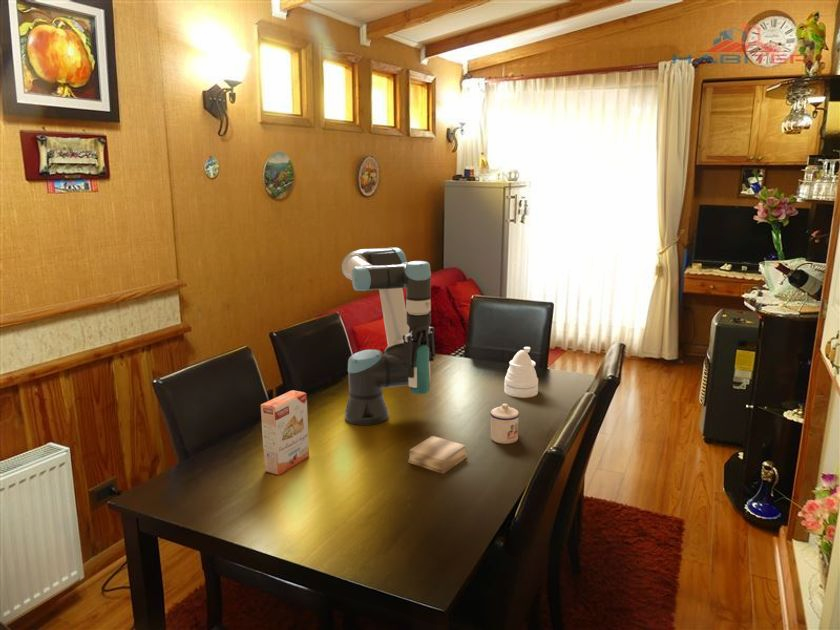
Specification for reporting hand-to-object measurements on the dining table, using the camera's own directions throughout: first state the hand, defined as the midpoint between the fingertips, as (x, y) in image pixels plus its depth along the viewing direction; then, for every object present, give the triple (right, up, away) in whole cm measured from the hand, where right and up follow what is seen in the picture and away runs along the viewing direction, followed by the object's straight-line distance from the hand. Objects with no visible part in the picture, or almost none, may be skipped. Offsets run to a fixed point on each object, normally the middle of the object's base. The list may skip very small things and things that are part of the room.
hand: (419, 383), depth 196 cm
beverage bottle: (0, -4, +1) cm, 4 cm away
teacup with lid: (+28, -18, +6) cm, 34 cm away
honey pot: (+39, -8, +46) cm, 61 cm away
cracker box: (-39, -23, -11) cm, 47 cm away
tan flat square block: (+5, -22, -10) cm, 24 cm away
